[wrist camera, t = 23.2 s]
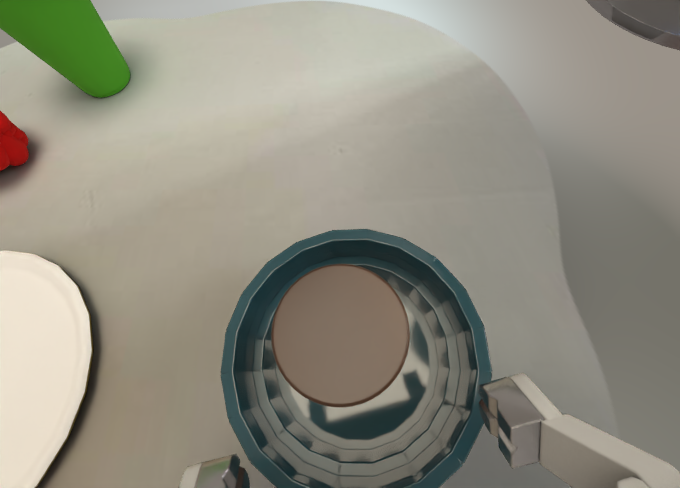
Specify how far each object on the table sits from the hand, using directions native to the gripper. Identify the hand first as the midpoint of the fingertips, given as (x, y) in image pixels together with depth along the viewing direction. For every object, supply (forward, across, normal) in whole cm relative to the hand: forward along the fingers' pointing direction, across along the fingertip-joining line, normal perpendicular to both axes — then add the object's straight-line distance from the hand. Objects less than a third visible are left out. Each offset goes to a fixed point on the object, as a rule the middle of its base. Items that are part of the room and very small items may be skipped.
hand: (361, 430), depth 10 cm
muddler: (+9, 0, +6) cm, 11 cm away
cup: (+34, +18, -18) cm, 42 cm away
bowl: (+10, 0, +6) cm, 12 cm away
